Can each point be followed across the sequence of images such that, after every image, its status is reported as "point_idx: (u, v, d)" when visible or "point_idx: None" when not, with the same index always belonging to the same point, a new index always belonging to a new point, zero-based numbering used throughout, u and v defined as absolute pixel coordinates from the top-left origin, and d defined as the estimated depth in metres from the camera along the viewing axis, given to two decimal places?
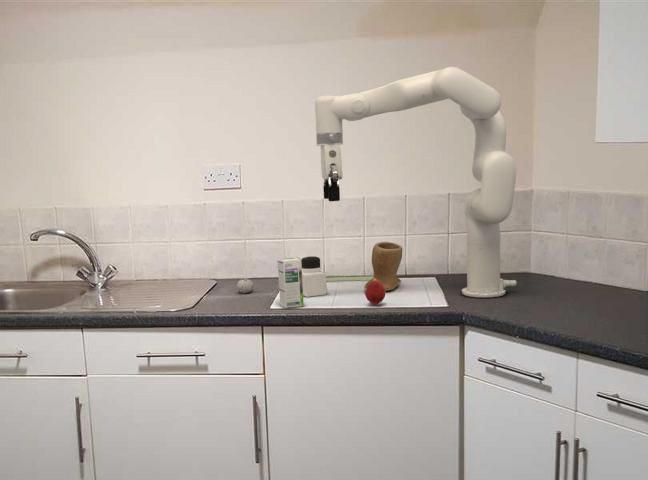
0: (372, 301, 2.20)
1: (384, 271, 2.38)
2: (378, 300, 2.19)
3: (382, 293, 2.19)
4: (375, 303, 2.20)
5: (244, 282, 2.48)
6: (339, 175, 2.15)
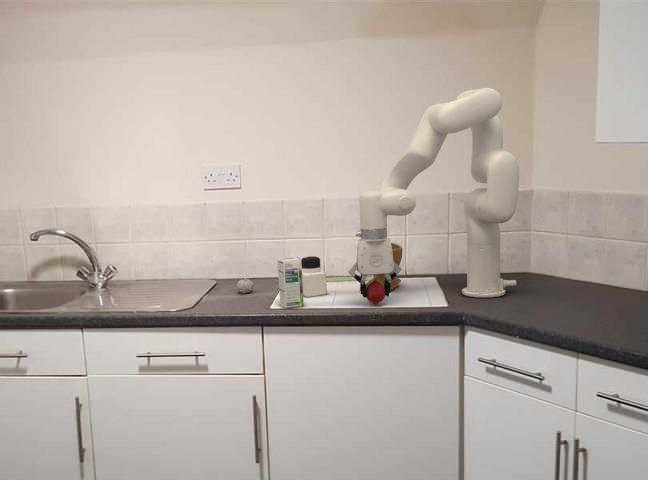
0: (372, 301, 2.20)
1: None
2: (378, 300, 2.19)
3: (382, 293, 2.19)
4: (375, 303, 2.20)
5: (244, 282, 2.48)
6: (358, 271, 2.18)
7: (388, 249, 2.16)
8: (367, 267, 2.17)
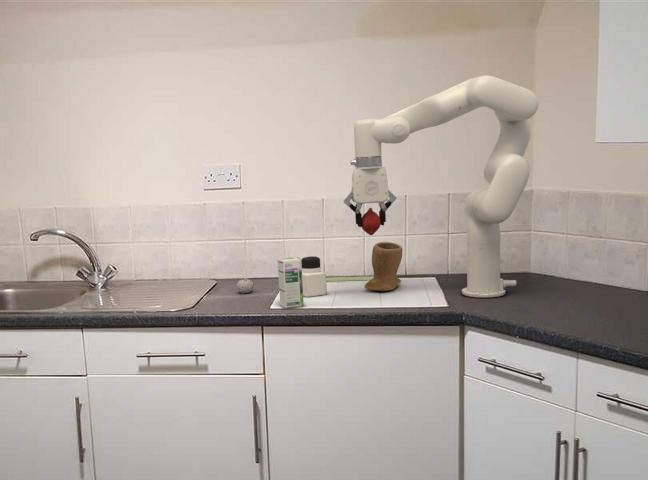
0: (367, 230, 2.20)
1: (384, 271, 2.38)
2: (373, 229, 2.19)
3: (377, 222, 2.19)
4: (370, 232, 2.20)
5: (244, 282, 2.48)
6: (354, 199, 2.18)
7: (383, 177, 2.16)
8: (362, 195, 2.17)
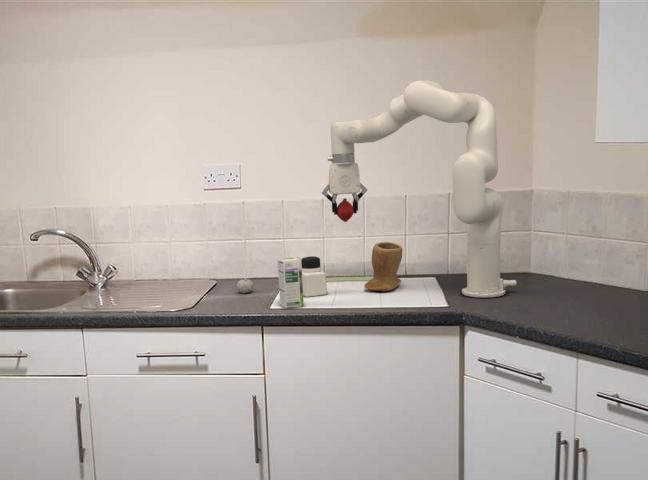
0: (342, 217, 2.54)
1: (384, 271, 2.38)
2: (347, 216, 2.53)
3: (350, 210, 2.53)
4: (345, 219, 2.54)
5: (244, 282, 2.48)
6: (330, 191, 2.52)
7: (355, 171, 2.50)
8: (337, 187, 2.51)
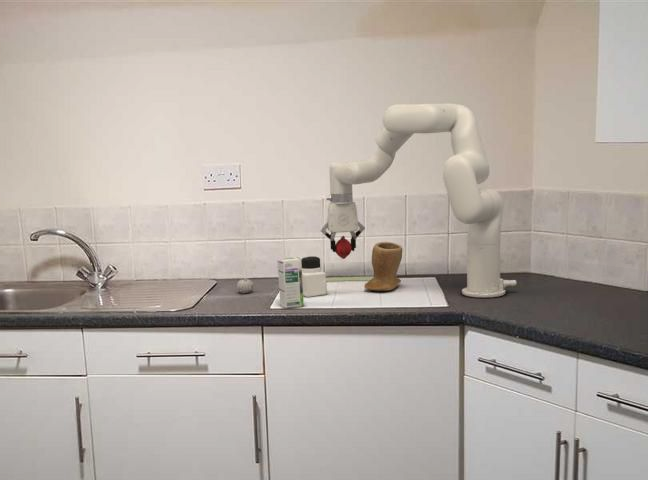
0: (340, 255, 2.61)
1: (384, 271, 2.38)
2: (345, 254, 2.61)
3: (348, 248, 2.60)
4: (343, 257, 2.62)
5: (244, 282, 2.48)
6: (328, 229, 2.59)
7: (353, 210, 2.58)
8: (336, 226, 2.58)
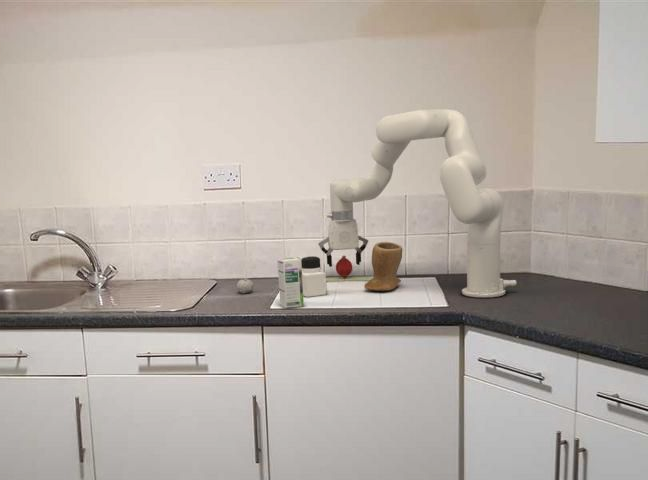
0: (341, 274, 2.63)
1: (384, 271, 2.38)
2: (346, 273, 2.62)
3: (349, 267, 2.62)
4: (344, 276, 2.63)
5: (244, 282, 2.48)
6: (329, 246, 2.60)
7: (354, 228, 2.59)
8: (336, 243, 2.59)
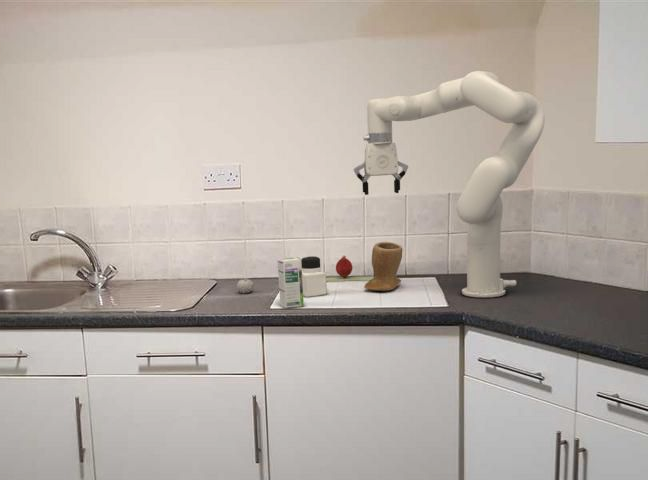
0: (341, 274, 2.63)
1: (384, 271, 2.38)
2: (346, 273, 2.62)
3: (349, 267, 2.62)
4: (344, 276, 2.63)
5: (244, 282, 2.48)
6: (366, 172, 2.38)
7: (393, 151, 2.37)
8: (374, 168, 2.37)
